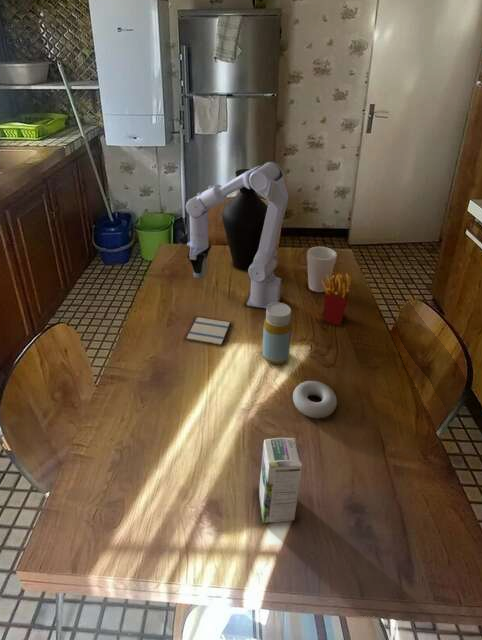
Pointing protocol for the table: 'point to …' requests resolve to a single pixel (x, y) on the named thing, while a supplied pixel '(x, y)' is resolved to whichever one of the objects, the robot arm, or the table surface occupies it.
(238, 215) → the vase
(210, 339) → the dish cloth
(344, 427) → the table surface
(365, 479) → the table surface
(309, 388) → the donut
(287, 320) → the bottle
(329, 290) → the french fries
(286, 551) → the table surface
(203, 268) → the pepper shaker
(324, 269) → the foam cup
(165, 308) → the table surface
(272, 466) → the syrup box
